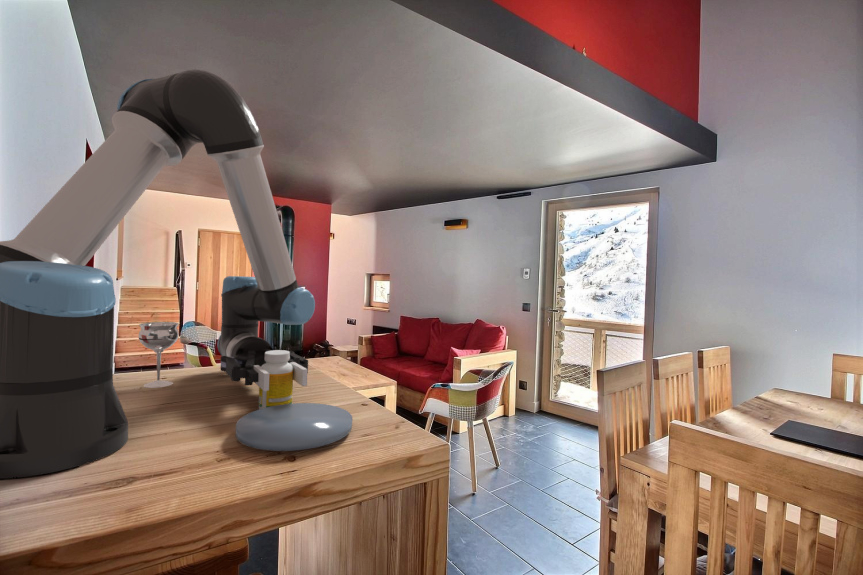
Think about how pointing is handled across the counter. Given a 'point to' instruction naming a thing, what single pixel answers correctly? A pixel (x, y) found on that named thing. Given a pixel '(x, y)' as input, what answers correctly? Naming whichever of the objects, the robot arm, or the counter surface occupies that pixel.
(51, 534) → the counter surface
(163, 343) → the wineglass
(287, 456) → the counter surface
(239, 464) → the counter surface
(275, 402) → the supplement bottle
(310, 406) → the slate dish
